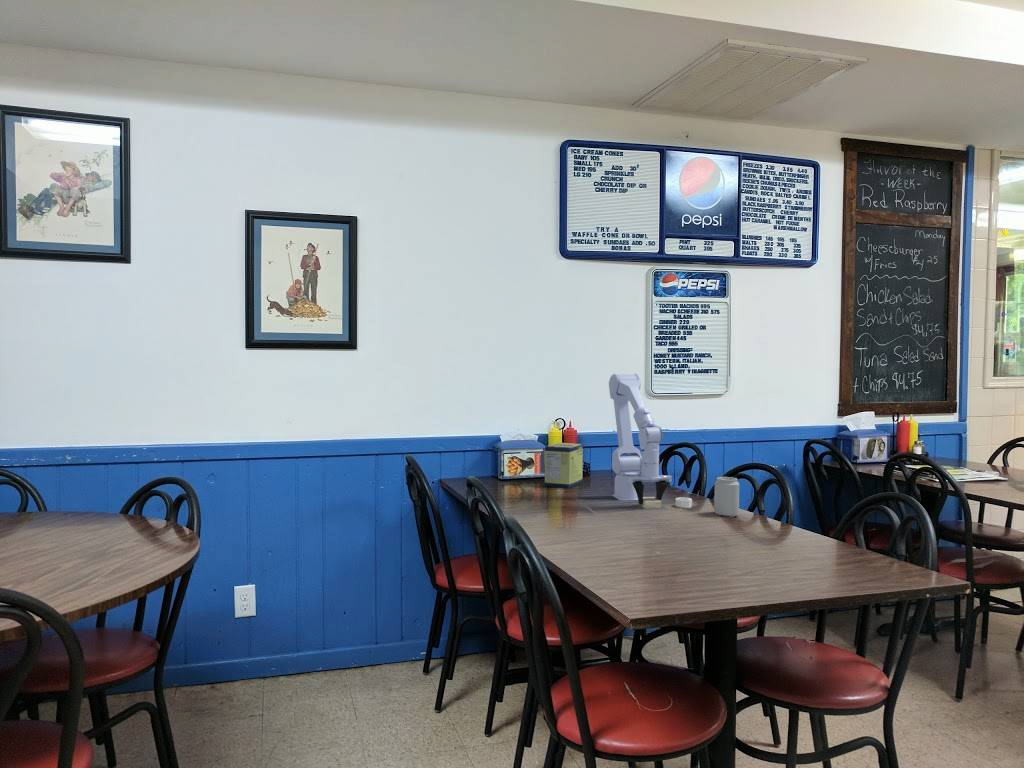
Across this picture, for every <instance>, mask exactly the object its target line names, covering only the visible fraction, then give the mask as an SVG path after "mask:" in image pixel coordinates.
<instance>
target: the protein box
mask: <svg viewBox="0 0 1024 768" xmlns="http://www.w3.org/2000/svg"><path fill="white" fill-rule="evenodd" d="M583 445H584V444H583V443H569V442H556V443H553V444H550V445H545V446H544V487H548V486H551V488H561V489H562V488H564V489H571V488H573V487H575V486H577V484H578V485H580V484H582V483H583V471H584V470H583V467H584V466H583V460H584V459H583V457H584V455H583V453H584V452H583V450H584V447H583ZM581 482H582V483H581ZM579 483H580V484H579ZM570 487H571V488H570Z"/></svg>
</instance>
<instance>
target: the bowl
mask: <svg viewBox="0 0 1024 768" xmlns="http://www.w3.org/2000/svg"><path fill="white" fill-rule="evenodd" d="M675 507H676V508H681V509H682V508H683V509H688V508H689V509H690V508H692V507H693V499H692V498H690V497H683V496H681V497H675Z"/></svg>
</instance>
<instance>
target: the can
mask: <svg viewBox="0 0 1024 768" xmlns="http://www.w3.org/2000/svg"><path fill="white" fill-rule="evenodd" d="M716 479H717V480H715V482H714V499H713V500H714V504H713V505H714V506H713V507H714V509H713V510H714V514H716V515H717V516H718V515H719V516H725V517H732V518H735V516H736V517H737V516H738V515H739V514H740V483H739V481H738V478H737V477H732V476H730V477H729V476H719V477H716Z"/></svg>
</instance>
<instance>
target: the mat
mask: <svg viewBox="0 0 1024 768" xmlns="http://www.w3.org/2000/svg"><path fill="white" fill-rule="evenodd" d="M630 504H631V505H633V506H634V507H636V508H637V509H639V510H641V511H651V510H653V511H655V510H657V511H658V510H668V508H667V507H666V506H663V505H662V509H645V508H643V507H641V506H640V505H638V501H637V502H630Z"/></svg>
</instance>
